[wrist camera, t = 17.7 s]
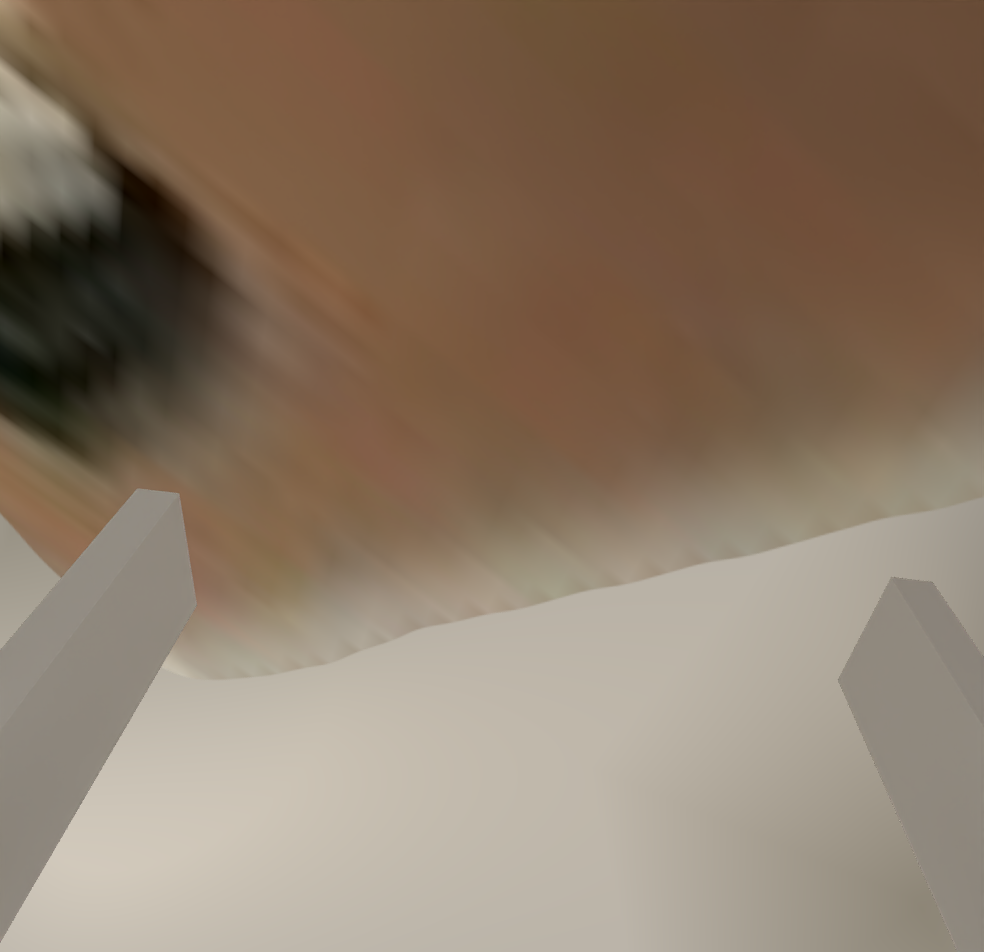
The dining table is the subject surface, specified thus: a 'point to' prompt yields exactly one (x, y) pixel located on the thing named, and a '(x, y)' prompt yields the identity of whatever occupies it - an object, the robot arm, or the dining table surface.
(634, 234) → the dining table surface
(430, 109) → the dining table surface
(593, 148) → the dining table surface
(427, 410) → the dining table surface
